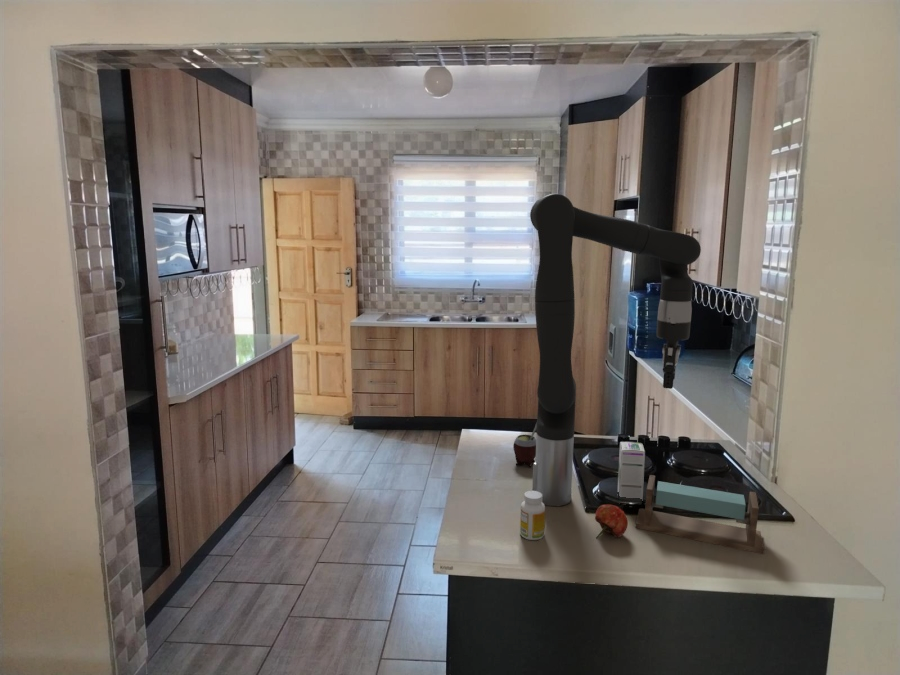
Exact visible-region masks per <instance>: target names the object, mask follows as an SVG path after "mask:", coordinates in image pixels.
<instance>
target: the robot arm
mask: <svg viewBox="0 0 900 675" xmlns="http://www.w3.org/2000/svg"><path fill="white" fill-rule="evenodd" d="M529 217H530V219H529V220H530V222H531V224H532V227H533V228H534V229H535V230H536V231H537V236H538V244H539V245H538V246H539V262H538V263H539V264H538V270H537V275H536V281H535V289H534V291H535V292H534V307H535V310H534V312H535V314H534V315H535V326H536V336H537V342H538V349H539V350H538V351H539V370H538V371H539V374H538V384H537V389H536V390H537V391H536V395H537V417H536V423H537V428H536V431H535V432H536V435H535V436H536V437H535V439H536V456H535V462H534V463H532V464H533V465H532V486H531V489H532V490H531V491H538V492H540V493H541V494H542V503H543V504H544V505H546V506H550V507H551V506H552V507H561V506H565V505H567V504H569V503H570V502H571V499H572V484H573V466H574V465H573V463H574V461H573V460H574V441H575V440H574V439H575V438H574V437H575V423H576V422H575V421H576V399H577V383H576V381H575V379H574V376H573V368H572V350H573V349H572V348H573V342H574V341H573V340H574V334H575V333H574V331H575V330H574V329H575V316H576V309H575V305H576V302H575V300H576V299H575V284H574V283H575V281H574V269H573V268H574V267H573V254H572V252H573V241H574V240H573V238H574V237H575V238H580V239H585V240H589V241H592V242H596V243H600V244H602V245H606V246H609V247H612V248H615V249H617V250H622V251H624V252H625V251H626V252H628V253H631V254H636V255H639V256H645V257H646V256H647V257H653V258H656V259H658V260H659V271H660V273H659V274H660V278H661V283H660V298H659V304H658V308H657V319H656V320H657V321H656V337H657V338H659V339H662V340H665V341H666V343H663V345H662V359H661V360H662V362H661V363H662V364H663V366H662V367H663V368H662V372H663V378H662V379H663V382H662V387H663V388H664V389H668V390H671V389H673V388H674V380H675V379H676V378H675V377H676V369H677V368H676V366H678V362H679V359H680V354H681V349H682V348H681V347H682V345H681V344H679V342H680V341H686V340H689V338H690V334H691V323H692V322H691V321H692V310H693V307H692V298H693V284H694V283H693V280H692V277H691V276H690V275H689V271H688V269H689V268H688V267H689V266H690V265H691V264H694V263H695V262H696V261H698V259H699V257H700V255H701V252H702V249H701V248H702V247H701V244H700V242H699V241H698V240H697V238H695V237H694V236H691V235H689V234H686V233H681V232H676V231H671V230H666V229H661V228H657V227H654V226H652V225H649V224H646V223H642V222H638V221H633V220H629V219H626V218H619V217H614V216H609V215H602V214H598V213H595V212H589V211H586V210H584V209H581V208H578V207H575V206H574V205H573V203H572V202H571V200H570V199H569V198H568V197H567V196H565V195H563V194H560V193H550V194H546V195H544V196H542V197H540V198H539V199H538V200H536V201H535V202H534V203H533V205H532V207H531V209H530V216H529ZM688 265H689V266H688Z"/></svg>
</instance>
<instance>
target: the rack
mask: <svg viewBox="0 0 900 675" xmlns="http://www.w3.org/2000/svg"><path fill="white" fill-rule="evenodd" d="M647 482H648V483H647V485H646V492H645V493H646V496H645V505H644V506H645V508H639V509H638V512H637V517H636V521H635V528H636V529H640V530H645V531H650V532H654V533H655V532H656V533H661V534H665V535H670V536H676V537H679V538H680V537H681V538H685V539H689V540H694V541H699V542H704V543H708V544H714V545H718V546H719V545H721V546H723V547H729V548H733V549H737V550H738V549H739V550H743V551H748V552H754V553H758V554H764V553H765V552H764V550H765V548H764V543H763V538H762V532H761V530H757V525H758V518H759V511H760V510H759V509H760V508H759V503H758V496H757V493H756V491H755V492H754V491H749V493H748V494H749V495H748V504H747V512H746V511H745V516H744V520H741V519H736V518H735V523H737V524H741V525H742V524H743V525H745V527H742V526H741V527H739V526H736V525H732V524H731V525H729V524H726V523H725V524H724V523H719V522H716V521H715V522H714V521H708V520H705V519H704V520H703V519H699V518H692V517H688V516H683V515H678V514H672V513H667V512H662V511H657V510H653V508H656V509H664V506H662V505H657V504H656V495H655V483H656V475H654V474H649V478H648V481H647Z"/></svg>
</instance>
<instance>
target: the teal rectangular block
mask: <svg viewBox="0 0 900 675" xmlns="http://www.w3.org/2000/svg"><path fill="white" fill-rule="evenodd" d="M655 496H656V501H655V502H656V504H657V505H662V506H663V507H668V508H669V507H670V508H674V509H679V510H680V509H681V510H684V511H691V512H696V513H697V512H698V513H703V514H708V515H713V516H720V517H724V518H725V517H726V518H731V519H735V520H736V519H741V520H744V516H745V512H746V506H747V505H746V500H745V494H739V493H733V492H728V491H722V490H715V489H709V488H702V487H697V486H691V485H686V484H685V485H683V484H677V483H671V482H666V481H659V480H657V486H656V494H655Z"/></svg>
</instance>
